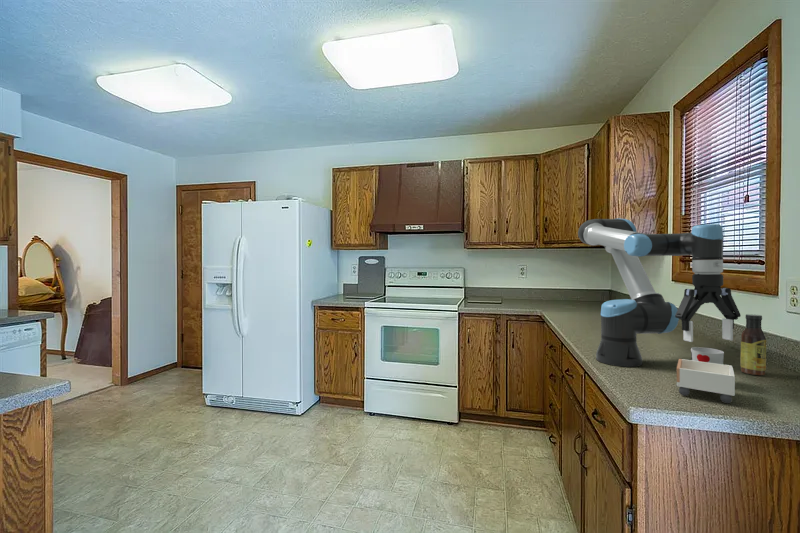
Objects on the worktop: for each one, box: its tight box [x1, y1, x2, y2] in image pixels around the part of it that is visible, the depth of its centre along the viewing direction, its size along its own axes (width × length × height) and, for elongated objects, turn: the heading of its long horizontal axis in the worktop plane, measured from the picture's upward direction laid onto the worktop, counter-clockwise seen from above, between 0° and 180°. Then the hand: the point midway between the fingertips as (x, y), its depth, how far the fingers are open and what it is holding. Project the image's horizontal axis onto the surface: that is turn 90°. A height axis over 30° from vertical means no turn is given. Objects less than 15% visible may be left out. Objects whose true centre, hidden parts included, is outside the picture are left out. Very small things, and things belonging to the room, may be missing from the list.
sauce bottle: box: [739, 313, 767, 376], centre depth 124 cm, size 6×6×20 cm
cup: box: [690, 346, 725, 364], centre depth 117 cm, size 8×8×10 cm
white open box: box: [676, 358, 736, 404], centre depth 107 cm, size 12×12×8 cm
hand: (708, 340), depth 117 cm, fingers open, 13 cm apart
